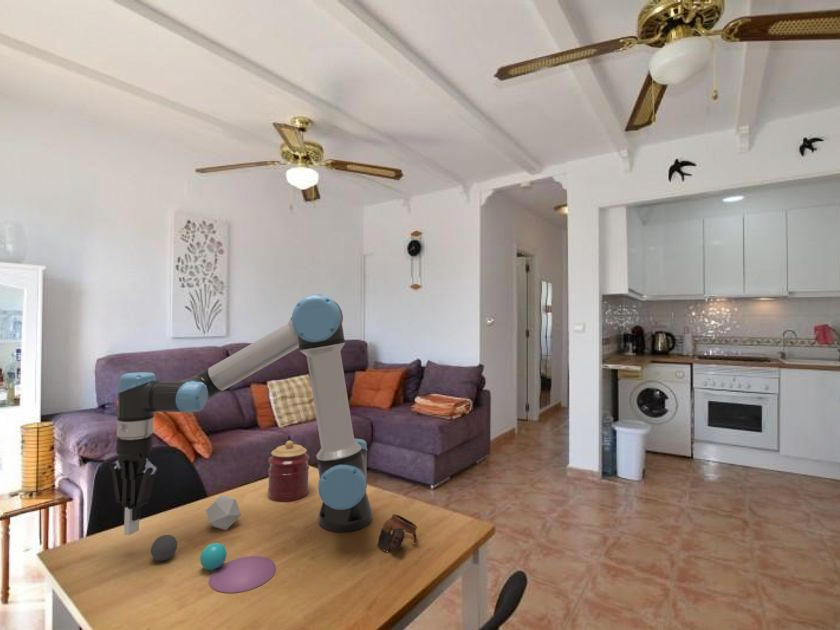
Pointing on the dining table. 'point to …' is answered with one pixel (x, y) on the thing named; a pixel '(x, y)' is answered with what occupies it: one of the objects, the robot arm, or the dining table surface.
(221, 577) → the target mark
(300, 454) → the canister
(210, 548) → the object ball
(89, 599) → the dining table surface
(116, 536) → the dining table surface
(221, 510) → the die
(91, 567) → the dining table surface
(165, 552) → the dark grey ellipsoid
